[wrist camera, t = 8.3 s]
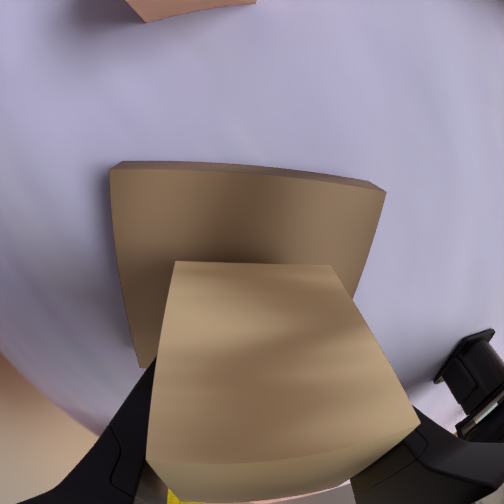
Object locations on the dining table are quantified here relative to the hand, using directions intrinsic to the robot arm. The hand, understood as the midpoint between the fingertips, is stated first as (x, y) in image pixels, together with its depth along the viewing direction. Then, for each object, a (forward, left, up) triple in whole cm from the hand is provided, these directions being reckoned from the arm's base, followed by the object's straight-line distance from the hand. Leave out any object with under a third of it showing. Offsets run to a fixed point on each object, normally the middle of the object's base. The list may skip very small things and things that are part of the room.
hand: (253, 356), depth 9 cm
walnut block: (0, 0, -5) cm, 5 cm away
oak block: (0, 0, -2) cm, 2 cm away
